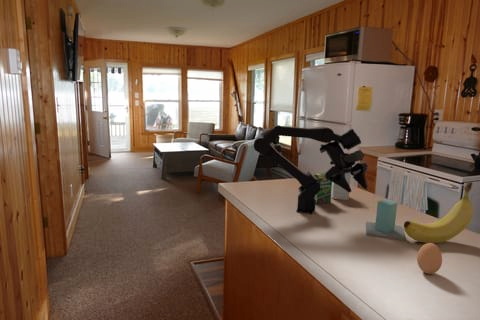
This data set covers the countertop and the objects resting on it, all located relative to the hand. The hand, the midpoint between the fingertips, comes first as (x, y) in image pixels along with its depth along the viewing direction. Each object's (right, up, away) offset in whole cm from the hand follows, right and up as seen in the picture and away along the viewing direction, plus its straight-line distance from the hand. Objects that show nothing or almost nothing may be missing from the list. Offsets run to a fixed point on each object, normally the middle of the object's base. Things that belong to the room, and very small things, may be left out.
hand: (358, 190), depth 125 cm
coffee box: (-8, -8, +25) cm, 27 cm away
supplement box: (+3, -6, +34) cm, 34 cm away
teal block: (+7, -13, -6) cm, 16 cm away
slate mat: (+7, -14, -6) cm, 17 cm away
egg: (+6, -19, -34) cm, 40 cm away
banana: (+20, -16, -14) cm, 29 cm away
